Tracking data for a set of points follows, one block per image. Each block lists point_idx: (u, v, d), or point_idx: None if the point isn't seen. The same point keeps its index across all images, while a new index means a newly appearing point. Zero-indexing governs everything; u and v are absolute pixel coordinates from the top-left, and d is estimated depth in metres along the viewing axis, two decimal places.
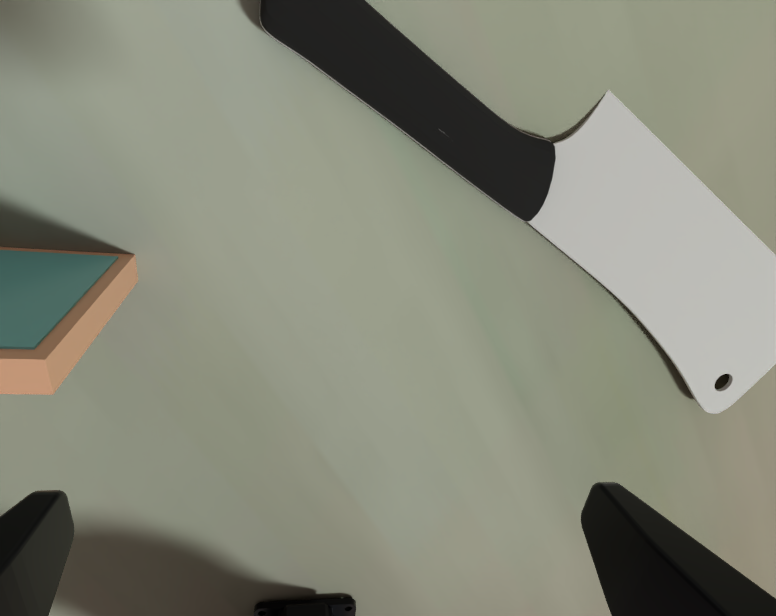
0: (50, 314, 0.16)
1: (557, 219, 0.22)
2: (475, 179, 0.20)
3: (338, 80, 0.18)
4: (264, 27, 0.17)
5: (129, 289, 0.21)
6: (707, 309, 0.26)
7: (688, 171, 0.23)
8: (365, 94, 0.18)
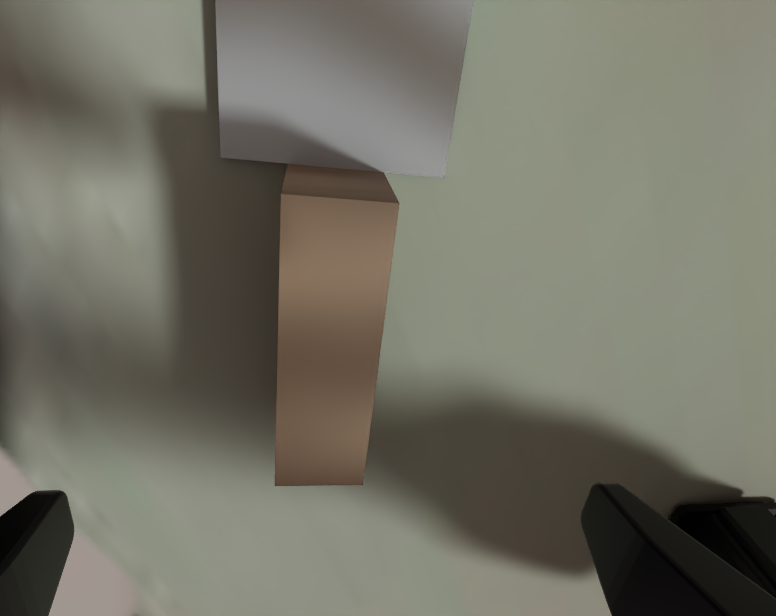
0: None
1: None
2: None
3: None
4: None
5: None
6: None
7: None
8: None
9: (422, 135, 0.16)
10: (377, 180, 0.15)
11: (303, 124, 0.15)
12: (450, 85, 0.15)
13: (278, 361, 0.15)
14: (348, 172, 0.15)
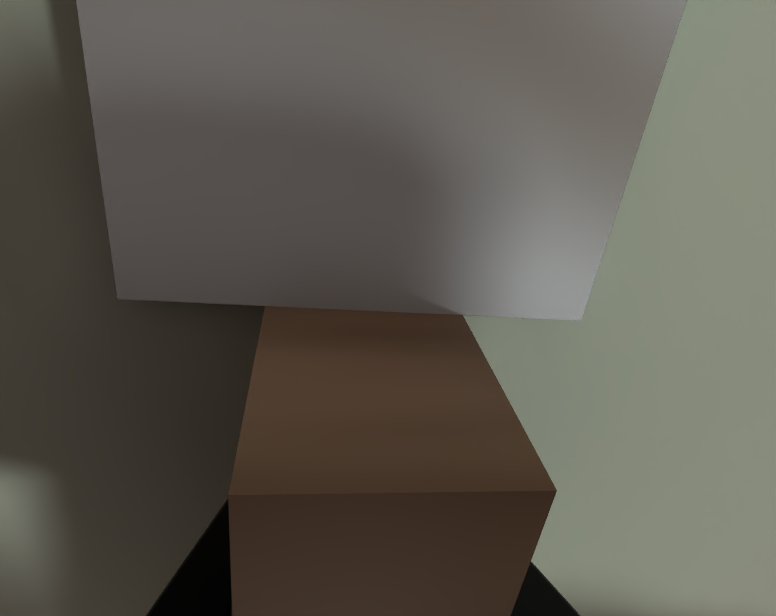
0: None
1: None
2: None
3: None
4: None
5: None
6: None
7: None
8: None
9: (549, 245, 0.07)
10: (462, 356, 0.07)
11: (297, 229, 0.07)
12: (622, 144, 0.07)
13: None
14: (394, 328, 0.07)
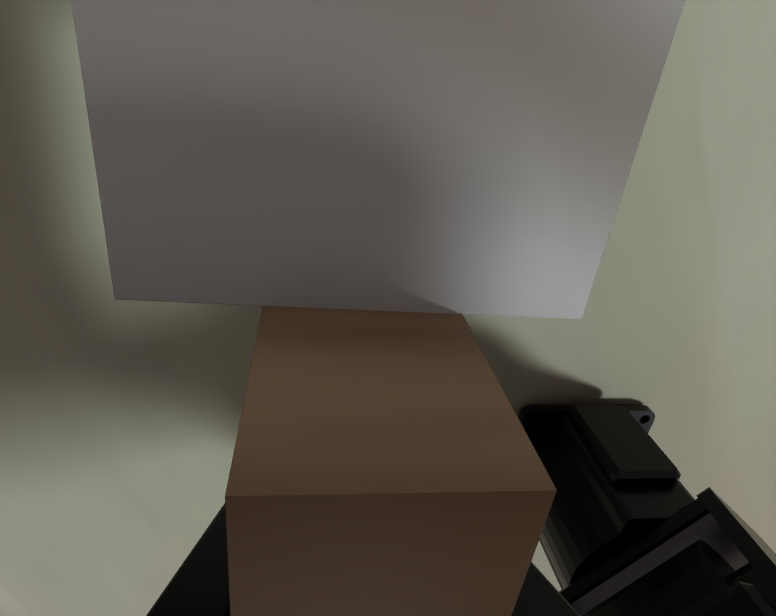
0: None
1: None
2: None
3: None
4: None
5: None
6: None
7: None
8: None
9: (548, 242, 0.07)
10: (461, 355, 0.07)
11: (295, 228, 0.07)
12: (621, 141, 0.07)
13: None
14: (393, 327, 0.07)
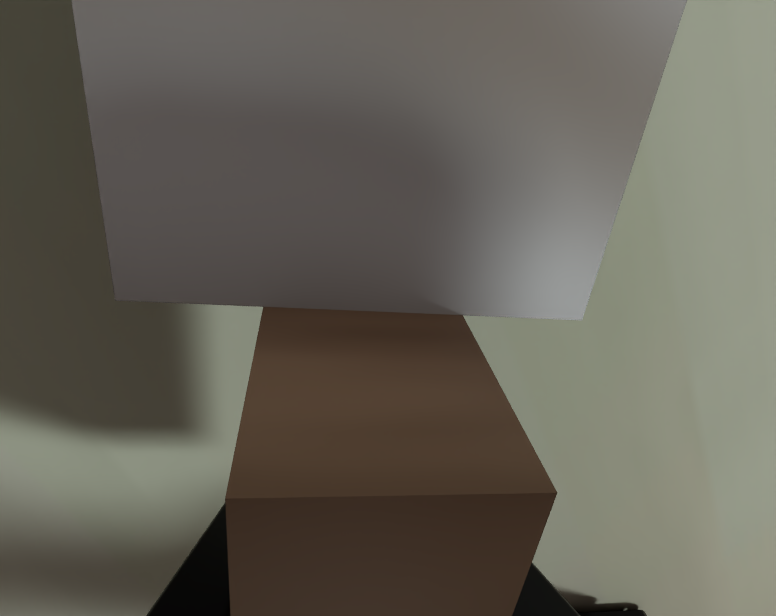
0: None
1: None
2: None
3: None
4: None
5: None
6: None
7: None
8: None
9: (549, 244, 0.07)
10: (462, 357, 0.07)
11: (296, 229, 0.07)
12: (622, 142, 0.07)
13: None
14: (394, 329, 0.07)
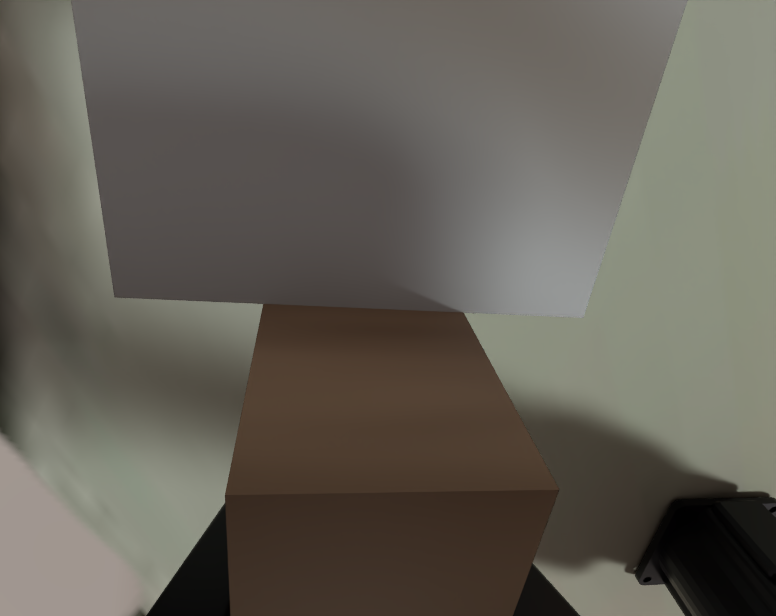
0: None
1: None
2: None
3: None
4: None
5: None
6: None
7: None
8: None
9: (551, 241, 0.07)
10: (463, 354, 0.07)
11: (296, 226, 0.07)
12: (624, 138, 0.07)
13: None
14: (394, 326, 0.07)
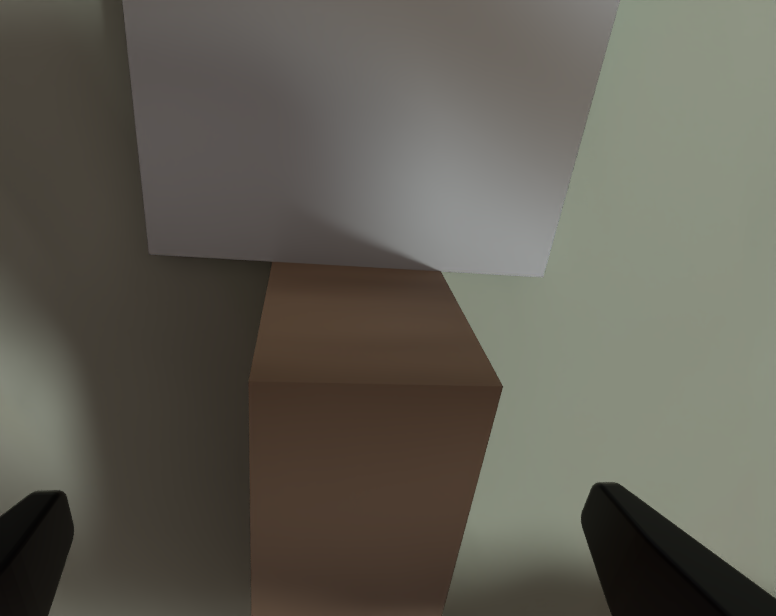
0: None
1: None
2: None
3: None
4: None
5: None
6: None
7: None
8: None
9: (513, 210, 0.09)
10: (437, 299, 0.08)
11: (300, 195, 0.08)
12: (570, 123, 0.08)
13: None
14: (381, 279, 0.09)
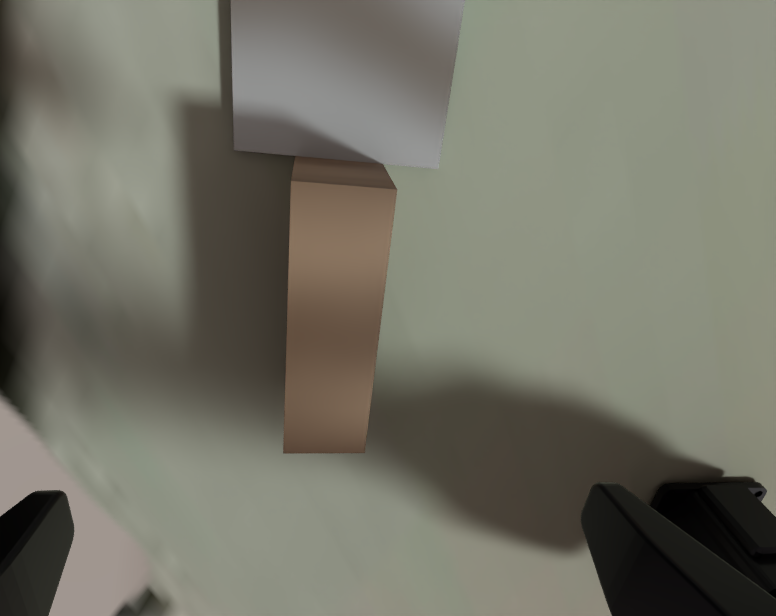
0: None
1: None
2: None
3: None
4: None
5: None
6: None
7: None
8: None
9: (418, 129, 0.17)
10: (377, 170, 0.16)
11: (309, 119, 0.17)
12: (444, 84, 0.17)
13: (287, 335, 0.16)
14: (350, 163, 0.17)
